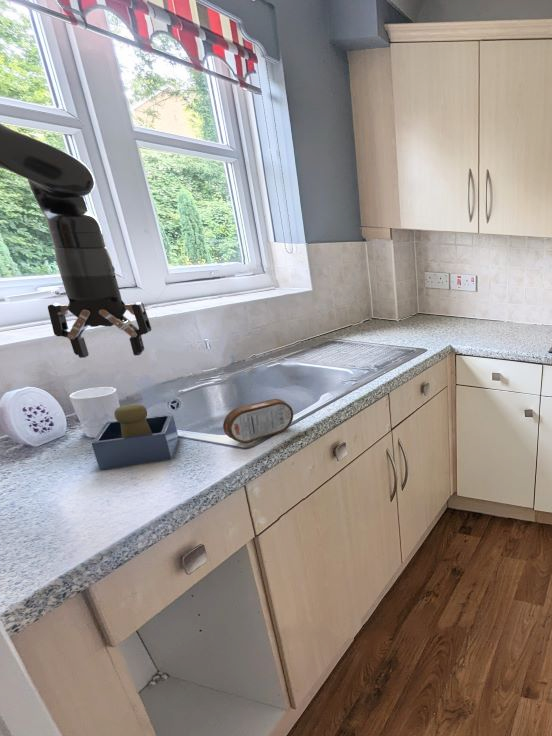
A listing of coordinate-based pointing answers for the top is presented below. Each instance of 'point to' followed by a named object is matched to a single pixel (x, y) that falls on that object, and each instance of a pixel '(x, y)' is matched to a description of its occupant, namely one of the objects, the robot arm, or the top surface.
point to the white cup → (95, 408)
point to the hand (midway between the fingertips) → (111, 355)
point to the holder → (135, 443)
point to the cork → (132, 420)
